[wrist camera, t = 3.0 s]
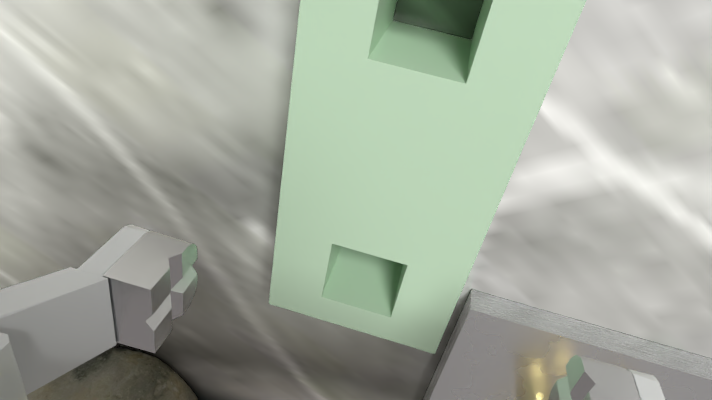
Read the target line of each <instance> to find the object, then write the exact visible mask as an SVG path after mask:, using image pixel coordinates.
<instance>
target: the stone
mask: <svg viewBox="0 0 712 400" xmlns="http://www.w3.org/2000/svg"><path fill="white" fill-rule="evenodd" d="M27 397H28V400H198V398H197V397H196V395H195V394H194V392H193V391H192V390H191V388H190V387H189V386H188V385H187V384H186V383H185V381H184V380H183V379H182V378H181V377H180V376H179V375H178V374H177V373H176V372H175V371H174V370H173V369H172V368H170V367H169V366H168V365H166V364H165V363H163V362H162V361H161V360H159V359H158V358H156V357H153V356H151V355H148V354H145V353H141V352H138V351H132V350H130V349H121V348H110V349H108V350H106V351H105V352H103V353H101V354H99V355H97V356H96V357H94V358H92V359H90V360H89V361H87V362H85V363H83V364H81V365H80V366H78V367H76V368H74V369H72V370H71V371H69V372H67V373H65V374H63V375H62V376H60V377H58V378H56V379H55V380H53V381H51V382H49V383H47V384H46V385H44V386H42V387H40V388H38V389H37V390H35V391H33V392H31V393H29V394H28V395H27Z"/></svg>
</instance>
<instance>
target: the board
mask: <svg viewBox="0 0 712 400" xmlns="http://www.w3.org/2000/svg"><path fill="white" fill-rule="evenodd" d="M585 2H586V0H484V1H483V5H482V8H481V11H480V14H479V17H478V21H477V24H476V27H475V30H474V33H473V37H472V40H471V39H467V38H463V37H459V36H455V35H451V34H447V33H443V32H438V31H434V30H430V29H426V28H422V27H418V26H414V25H410V24H406V23H402V22H398V21H394V20H393V17H394V13H395V8H396V3H397V0H300V7H299V17H298V26H297V36H296V46H295V55H294V65H293V74H292V84H291V94H290V103H289V113H288V122H287V132H286V142H285V151H284V161H283V170H282V180H281V190H280V199H279V209H278V218H277V228H276V238H275V247H274V257H273V266H272V276H271V285H270V295H269V304H271V305H274V306H277V307H281V308H284V309H287V310H291V311H294V312H297V313H300V314H304V315H307V316H310V317H314V318H317V319H320V320H324V321H327V322H330V323H333V324H337V325H340V326H343V327H347V328H350V329H353V330H357V331H360V332H363V333H367V334H370V335H373V336H376V337H380V338H383V339H386V340H390V341H393V342H396V343H400V344H403V345H406V346H409V347H413V348H416V349H419V350H423V351H426V352H429V353H433V354H435V352H436V350H437V348H438V345H439V343H440V341H441V338H442V336H443V334H444V331H445V329H446V327H447V324H448V322H449V320H450V317H451V315H452V313H453V310H454V308H455V306H456V303H457V301H458V299H459V296H460V294H461V292H462V289H463V287H464V285H465V282H466V280H467V278H468V275H469V273H470V271H471V268H472V266H473V264H474V261H475V259H476V257H477V254H478V252H479V250H480V247H481V245H482V243H483V240H484V238H485V236H486V233H487V231H488V229H489V226H490V224H491V222H492V219H493V217H494V215H495V212H496V210H497V208H498V205H499V203H500V201H501V198H502V196H503V194H504V191H505V189H506V187H507V184H508V182H509V180H510V177H511V175H512V173H513V170H514V168H515V166H516V163H517V161H518V159H519V156H520V154H521V152H522V149H523V147H524V145H525V142H526V140H527V138H528V135H529V133H530V131H531V128H532V126H533V124H534V121H535V119H536V117H537V114H538V112H539V110H540V107H541V105H542V103H543V100H544V98H545V96H546V93H547V91H548V89H549V86H550V84H551V82H552V79H553V77H554V75H555V72H556V70H557V68H558V65H559V63H560V61H561V58H562V56H563V54H564V51H565V49H566V47H567V44H568V42H569V40H570V37H571V35H572V33H573V30H574V28H575V26H576V23H577V21H578V19H579V16H580V14H581V12H582V9H583V7H584V5H585Z"/></svg>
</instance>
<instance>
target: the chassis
mask: <svg viewBox="0 0 712 400" xmlns="http://www.w3.org/2000/svg"><path fill="white" fill-rule="evenodd" d="M576 354H577V355H580V356H584V357H587V358H591V359H594V360H598V361H601V362H605V363H609V364H612V365H616V366H619V367H623V368H625V369H631V370H634V371H638V372H642V373H645V374H649V375H653V376H654V377H655V378H656V379H657V380H658V381H659V384H660V386H661V389H662V392H663V395H664V397H665V400H712V359H710V358H707V357H703V356H700V355H696V354H693V353H689V352H686V351H683V350H679V349H676V348H672V347H669V346H665V345H662V344H658V343H655V342H651V341H648V340H645V339H641V338H638V337H634V336H631V335H627V334H624V333H620V332H617V331H614V330H610V329H607V328H603V327H600V326H596V325H593V324H589V323H586V322H582V321H579V320H576V319H572V318H569V317H565V316H562V315H558V314H555V313H551V312H548V311H544V310H541V309H538V308H534V307H531V306H527V305H524V304H520V303H517V302H513V301H510V300H506V299H503V298H500V297H496V296H493V295H489V294H486V293H482V292H479V291H475V290H471V292H470V294H469V296H468V299H467V301H466V303H465V305H464V308H463V310H462V312H461V314H460V317H459V319H458V321H457V323H456V326H455V328H454V330H453V332H452V335H451V337H450V339H449V341H448V344H447V346H446V348H445V350H444V353H443V355H442V357H441V359H440V362H439V364H438V366H437V368H436V371H435V373H434V375H433V377H432V380H431V382H430V384H429V387H428V389H427V391H426V393H425V396H424V398H423V400H548V399H549V395H550V392H551V389H552V388H553V386H554V384H555V382H556V381H557V380H558V379H561V378H563V377H566V376H567V372H566V365H567V363H568V362H569V360H570V359H571V358H572V357H573V356H575V355H576Z"/></svg>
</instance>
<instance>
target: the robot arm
mask: <svg viewBox="0 0 712 400" xmlns="http://www.w3.org/2000/svg"><path fill="white" fill-rule="evenodd" d="M197 259H198V258H197V246H196V245H194V244H193V243H190V242H187V241H184V240H180V239H177V238H174V237H171V236H168V235H165V234H161V233H158V232H155V231H150V230H147V229H144V228H141V227H138V226H135V225H132V224H130V225H127V226H124V227H123V228H122V229H120V230H119V231H118V232H117V233H116V234H115V235H114V236H113V237H112V238H111V239H109V240H108V241H107V242H106V243H105V244H104V245H103V246H102V247H101V248H100V249H98V250H97V251H96V252H95V253H94V254H93V255H92V256H91V257H90V258H88V259H87V260H86V261H85V262H84V263H83V264H82V265H81V266H80V267H79V268H77V269H75V268H72V267H69V268H66V269H63V270H60V271H57V272H54V273H50V274H47V275H44V276H41V277H38V278H35V279H32V280H29V281H25V282H22V283H19V284H16V285H13V286H10V287H7V288H4V289H1V290H0V400H28V397H27V395H28V394H29V393H31V392H33V391H35V390H37V389H38V388H40V387H42V386H44V385H46V384H47V383H49V382H51V381H53V380H55V379H56V378H58V377H60V376H62V375H63V374H65V373H67V372H69V371H71V370H72V369H74V368H76V367H78V366H80V365H81V364H83V363H85V362H87V361H89V360H90V359H92V358H94V357H96V356H97V355H99V354H101V353H103V352H105V351H106V350H108V349H110V348H112V347H114V346H115V345H116V344H117V343H120V344H124V345H127V346H131V347H134V348H138V349H142V350H145V351H149V352H152V353H156V351H157V350H158V349H159V347H160V346H161V345H162V343H163V342H164V341H165V339H166V338H167V336H168V335H169V334H170V332H171V331H172V320H173V319H175V318H177V317H179V316H181V315H183V314H184V313H185V311H186V310H187V308H188V307H189V306H190V304H191V301H192V299H193V297H194V294H195V292H196V287H197V275H198V274H197V272H196V271H195V269H194V268H193V267H192V265H193V264H194V262H195V261H196V260H197ZM116 342H117V343H116ZM566 372H567V376H566V377H563V378H561V379H558V380H557V381H556V382H555V384H554V386H553V388H552V389H551V392H550V395H549V399H548V400H665V397H664V395H663V392H662V389H661V386H660V384H659V381H658V380H657V379H656V378H655V377H654V376H653V375H649V374H645V373H642V372H638V371H634V370H631V369H625V368H623V367H619V366H616V365H612V364H609V363H605V362H601V361H598V360H594V359H591V358H587V357H584V356H580V355H577V354H576V355H575V356H573V357H572V358H571V359H570V360H569V362H568V363H567V365H566Z"/></svg>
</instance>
